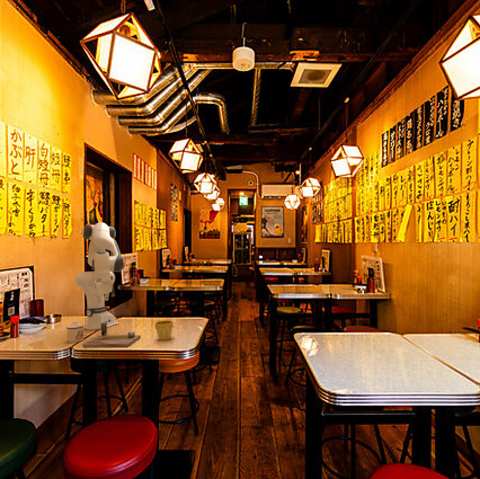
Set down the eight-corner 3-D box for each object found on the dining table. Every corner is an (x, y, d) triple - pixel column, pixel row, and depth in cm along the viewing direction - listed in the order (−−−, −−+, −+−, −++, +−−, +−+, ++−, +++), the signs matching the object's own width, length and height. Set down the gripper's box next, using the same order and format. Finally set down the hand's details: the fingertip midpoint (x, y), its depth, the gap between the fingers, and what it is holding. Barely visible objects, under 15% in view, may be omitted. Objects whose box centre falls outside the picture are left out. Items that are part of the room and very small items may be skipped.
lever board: (99, 338, 203) (99, 335, 203) (140, 337, 200) (140, 335, 200) (82, 347, 185) (82, 344, 185) (127, 347, 182) (127, 343, 182)
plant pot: (164, 342, 190) (164, 324, 190) (151, 339, 195) (151, 323, 196) (177, 337, 199) (176, 321, 199) (164, 335, 204) (163, 319, 204)
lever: (135, 335, 199) (135, 321, 199) (133, 337, 195) (133, 322, 195) (102, 336, 199) (102, 322, 199) (100, 338, 195) (99, 324, 195)
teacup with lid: (78, 343, 193) (77, 323, 193) (63, 343, 194) (63, 323, 194) (89, 337, 205) (89, 318, 205) (76, 337, 206) (75, 318, 206)
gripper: (100, 280, 187) (101, 304, 187) (114, 276, 208) (114, 298, 207) (89, 280, 187) (89, 305, 187) (104, 277, 208) (104, 299, 207)
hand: (103, 301), depth 197 cm, fingers open, 8 cm apart
